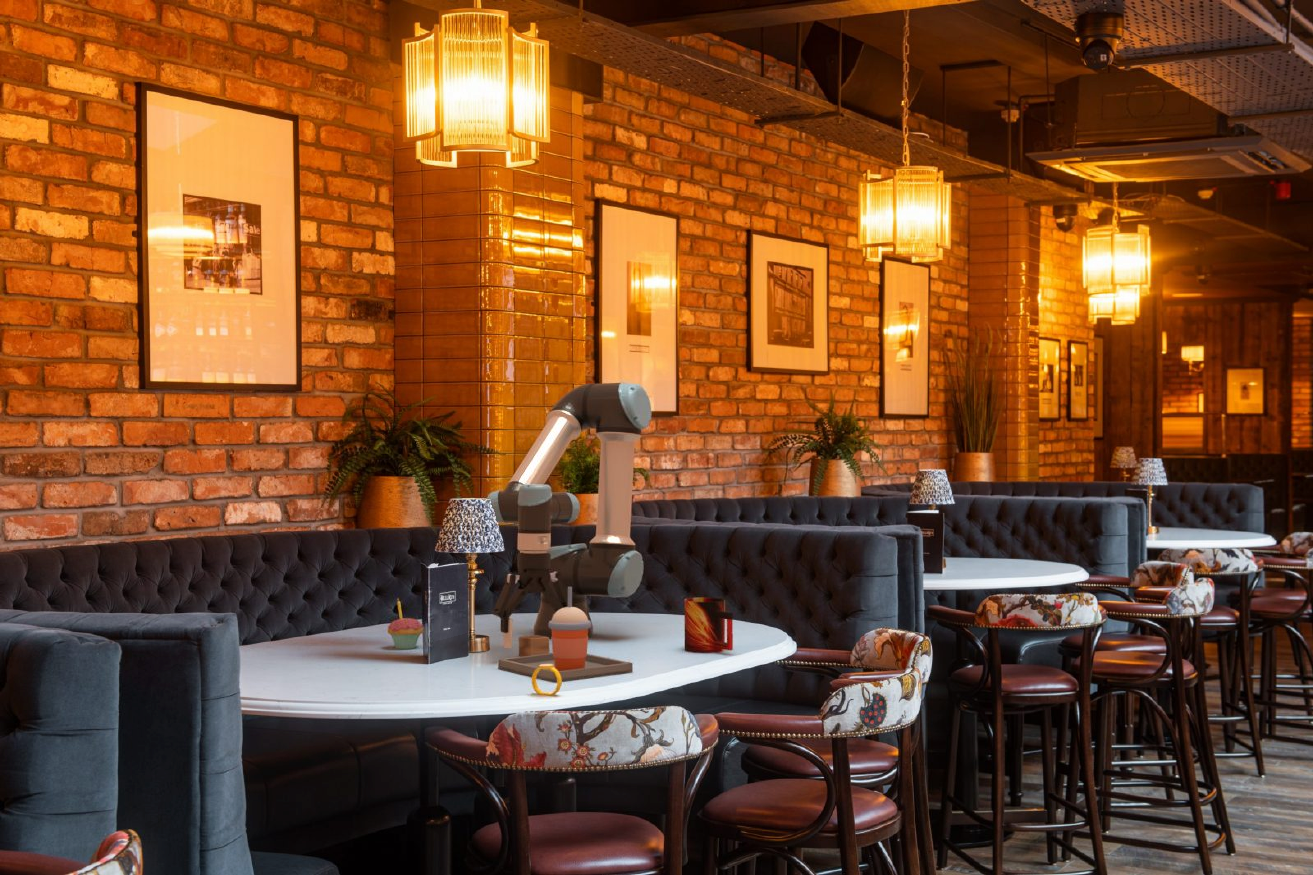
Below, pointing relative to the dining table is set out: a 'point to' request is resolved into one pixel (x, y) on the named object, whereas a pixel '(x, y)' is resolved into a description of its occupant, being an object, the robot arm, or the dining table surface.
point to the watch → (557, 674)
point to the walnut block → (533, 645)
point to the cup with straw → (569, 636)
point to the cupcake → (405, 631)
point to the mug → (707, 625)
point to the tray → (593, 668)
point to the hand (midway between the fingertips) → (532, 645)
